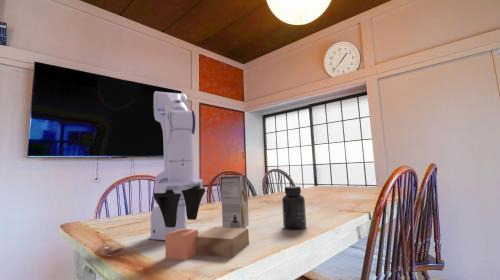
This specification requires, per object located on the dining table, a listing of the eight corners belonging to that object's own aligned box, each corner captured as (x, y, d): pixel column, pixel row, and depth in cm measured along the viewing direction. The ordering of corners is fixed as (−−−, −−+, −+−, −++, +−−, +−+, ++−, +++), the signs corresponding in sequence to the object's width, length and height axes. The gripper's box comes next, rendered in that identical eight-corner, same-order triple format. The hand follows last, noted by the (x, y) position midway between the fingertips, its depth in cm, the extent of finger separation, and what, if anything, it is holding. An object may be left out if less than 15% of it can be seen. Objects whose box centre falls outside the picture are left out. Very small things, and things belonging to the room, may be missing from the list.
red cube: (165, 258, 53) (165, 234, 53) (179, 250, 58) (179, 228, 58) (185, 260, 51) (184, 235, 52) (198, 252, 56) (198, 229, 56)
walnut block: (196, 255, 55) (195, 236, 55) (216, 243, 63) (215, 226, 64) (233, 259, 52) (232, 239, 52) (249, 245, 60) (248, 228, 60)
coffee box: (230, 223, 83) (228, 175, 85) (249, 223, 82) (247, 174, 84) (222, 230, 74) (220, 176, 76) (242, 230, 73) (240, 175, 75)
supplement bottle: (278, 228, 74) (276, 187, 76) (292, 223, 79) (290, 185, 80) (297, 231, 70) (294, 188, 71) (311, 226, 74) (308, 186, 75)
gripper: (174, 160, 49) (175, 232, 47) (212, 161, 62) (214, 217, 60) (146, 162, 51) (146, 230, 49) (188, 162, 64) (189, 216, 63)
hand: (181, 223), depth 55 cm, fingers open, 7 cm apart
